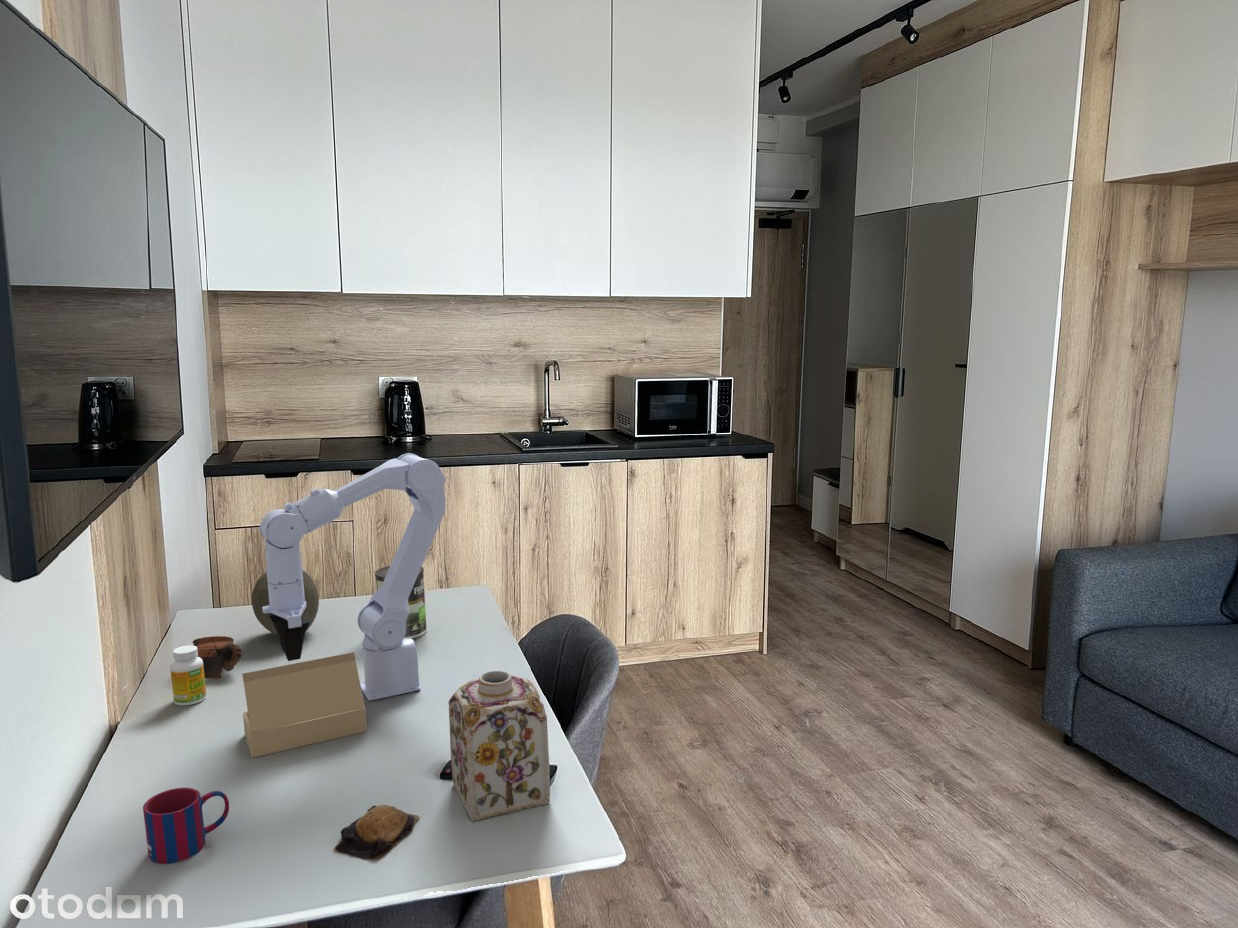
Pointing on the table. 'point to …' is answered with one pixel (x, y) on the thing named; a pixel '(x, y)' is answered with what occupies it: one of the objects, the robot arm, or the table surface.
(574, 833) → the table surface
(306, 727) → the carton
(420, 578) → the coffee can
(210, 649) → the pottery mug
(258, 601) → the cantaloupe
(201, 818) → the cup
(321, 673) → the lid flap
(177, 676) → the supplement bottle
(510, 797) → the decorative jar
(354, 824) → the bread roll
